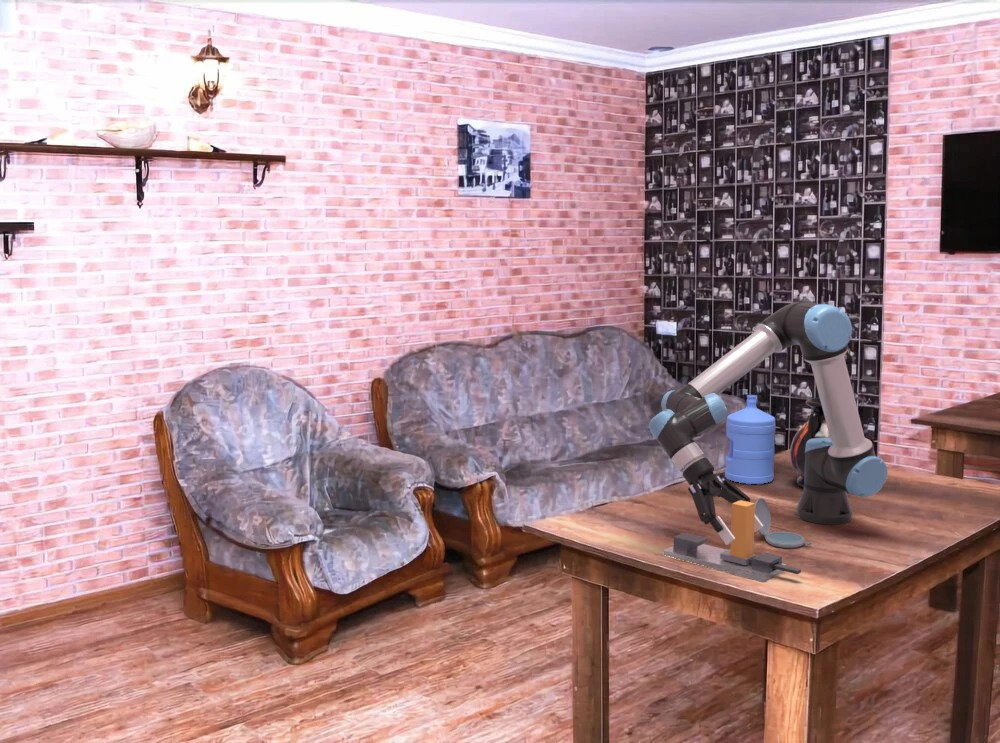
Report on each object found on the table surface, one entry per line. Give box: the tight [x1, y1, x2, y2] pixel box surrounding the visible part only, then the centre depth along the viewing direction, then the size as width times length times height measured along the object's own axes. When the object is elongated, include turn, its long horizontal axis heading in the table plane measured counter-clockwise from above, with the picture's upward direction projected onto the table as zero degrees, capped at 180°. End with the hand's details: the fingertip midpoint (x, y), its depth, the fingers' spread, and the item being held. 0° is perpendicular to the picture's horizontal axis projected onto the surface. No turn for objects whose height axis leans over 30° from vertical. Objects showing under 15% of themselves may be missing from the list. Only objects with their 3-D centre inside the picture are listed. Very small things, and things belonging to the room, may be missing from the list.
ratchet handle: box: [720, 500, 802, 575], centre depth 237 cm, size 20×5×14 cm, turn 47°
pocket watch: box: [754, 497, 813, 549], centre depth 260 cm, size 10×11×15 cm
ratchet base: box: [662, 532, 787, 583], centre depth 245 cm, size 28×11×4 cm, turn 47°
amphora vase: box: [789, 397, 830, 489], centre depth 315 cm, size 22×22×28 cm
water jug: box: [724, 394, 776, 485], centre depth 325 cm, size 16×16×28 cm
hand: (745, 535), depth 240 cm, fingers open, 13 cm apart
